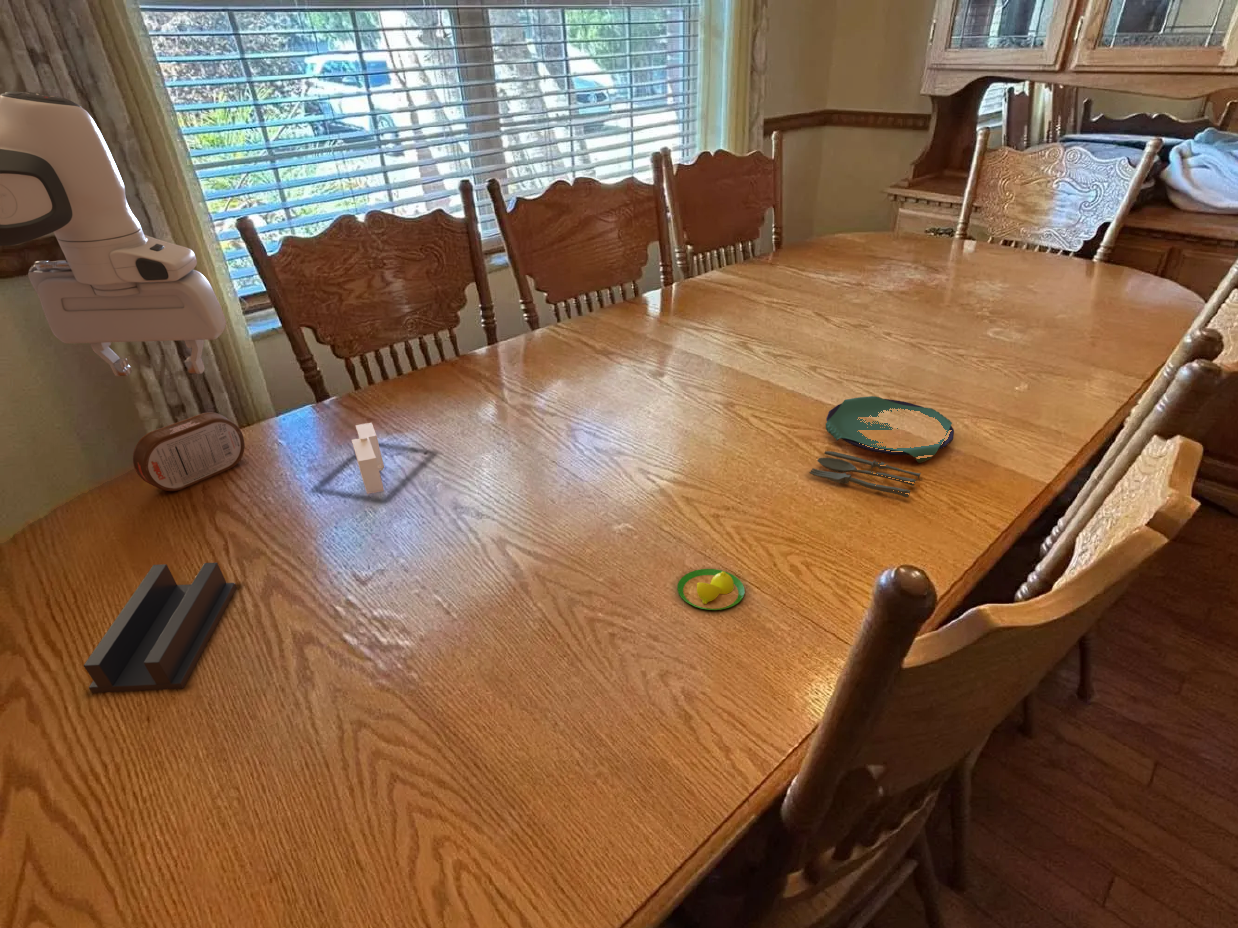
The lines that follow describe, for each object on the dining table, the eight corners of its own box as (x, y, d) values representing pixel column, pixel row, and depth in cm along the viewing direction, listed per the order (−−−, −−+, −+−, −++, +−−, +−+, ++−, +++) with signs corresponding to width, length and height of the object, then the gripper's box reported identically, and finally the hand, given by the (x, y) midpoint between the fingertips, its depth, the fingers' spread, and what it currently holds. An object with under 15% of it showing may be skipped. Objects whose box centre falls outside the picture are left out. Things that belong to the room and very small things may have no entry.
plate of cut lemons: (734, 620, 85) (737, 601, 83) (668, 604, 87) (669, 585, 85) (751, 581, 90) (753, 562, 88) (688, 567, 92) (689, 548, 90)
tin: (243, 455, 113) (223, 402, 108) (255, 461, 112) (236, 408, 106) (147, 496, 104) (119, 440, 99) (159, 503, 103) (132, 447, 97)
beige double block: (386, 503, 103) (377, 466, 99) (314, 492, 105) (302, 455, 102) (435, 454, 114) (428, 419, 110) (369, 445, 116) (360, 410, 112)
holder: (93, 694, 75) (73, 666, 73) (159, 592, 88) (145, 564, 85) (184, 690, 76) (168, 661, 73) (237, 589, 89) (225, 561, 86)
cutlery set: (962, 425, 123) (966, 411, 121) (919, 508, 103) (924, 493, 102) (845, 400, 130) (847, 387, 128) (784, 473, 110) (787, 459, 109)
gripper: (6, 269, 86) (67, 385, 95) (187, 264, 87) (230, 380, 96) (35, 254, 90) (90, 366, 100) (206, 250, 91) (246, 362, 101)
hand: (160, 373), depth 98 cm, fingers open, 8 cm apart
